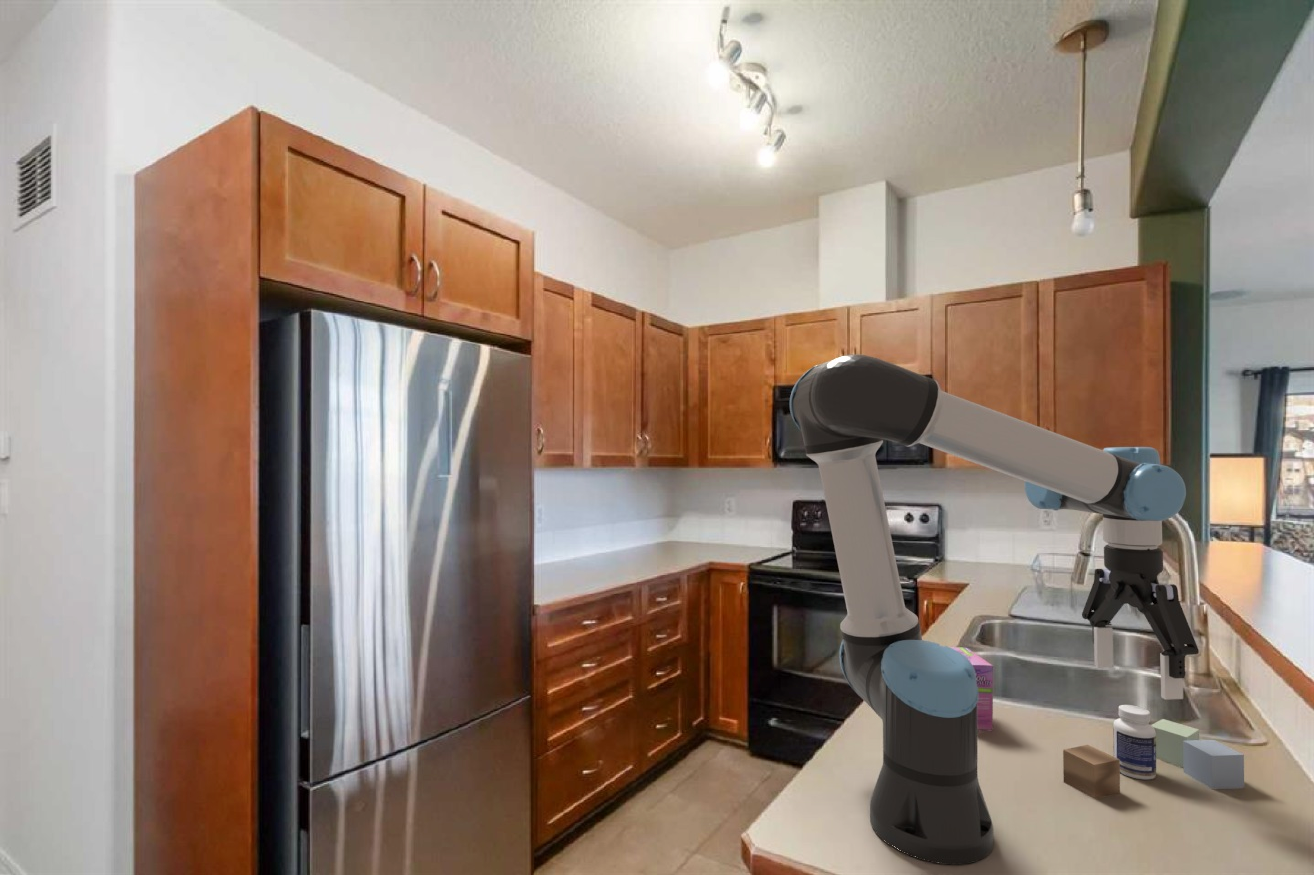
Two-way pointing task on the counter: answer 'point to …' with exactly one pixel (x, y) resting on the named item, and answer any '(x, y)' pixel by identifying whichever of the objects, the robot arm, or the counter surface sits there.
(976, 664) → the box
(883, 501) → the robot arm
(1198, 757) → the slate blue cube
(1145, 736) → the pill bottle
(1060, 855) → the counter surface
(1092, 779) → the walnut cube
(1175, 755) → the sage cube
